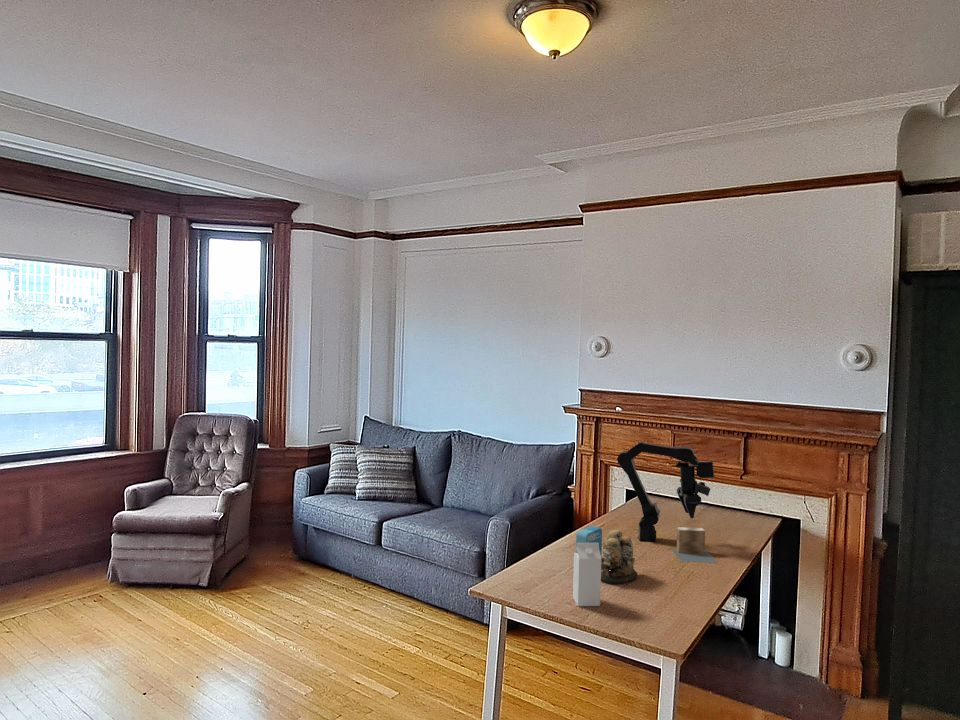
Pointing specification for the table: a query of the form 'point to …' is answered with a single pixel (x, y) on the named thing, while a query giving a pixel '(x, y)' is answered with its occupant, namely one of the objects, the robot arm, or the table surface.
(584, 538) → the data package
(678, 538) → the slab
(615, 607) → the table surface
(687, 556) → the mat
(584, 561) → the milk carton
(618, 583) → the owl figurine
